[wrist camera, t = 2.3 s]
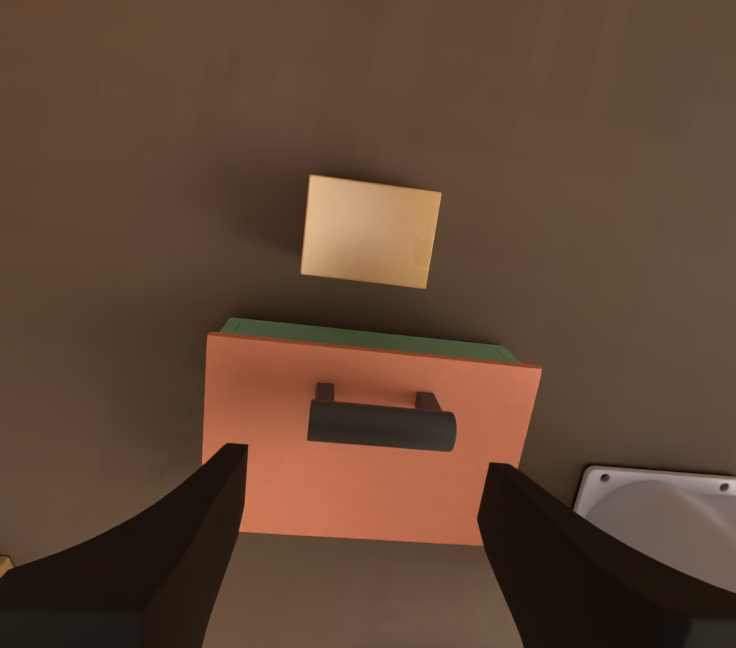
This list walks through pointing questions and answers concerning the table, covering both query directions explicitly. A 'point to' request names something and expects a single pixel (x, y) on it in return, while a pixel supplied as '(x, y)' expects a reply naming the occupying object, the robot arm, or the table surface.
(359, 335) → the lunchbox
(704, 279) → the table surface
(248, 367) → the lid
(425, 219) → the block
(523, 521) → the robot arm
